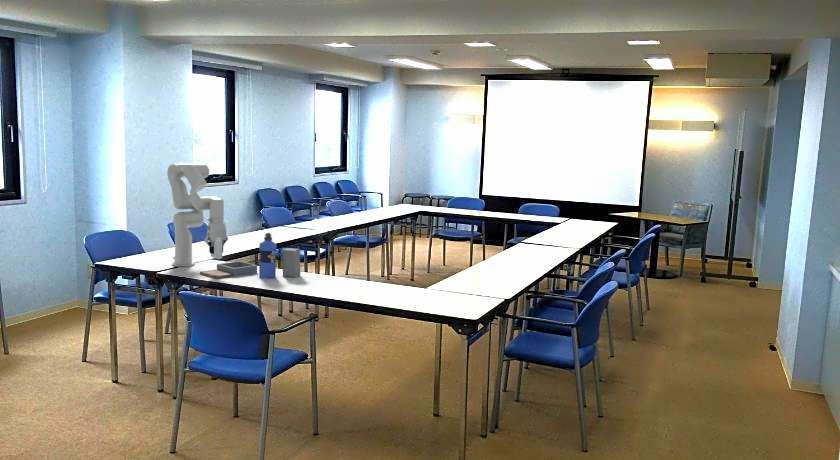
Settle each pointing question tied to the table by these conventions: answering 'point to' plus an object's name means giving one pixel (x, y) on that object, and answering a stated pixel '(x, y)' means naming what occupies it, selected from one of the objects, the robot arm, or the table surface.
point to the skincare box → (291, 262)
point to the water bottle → (267, 258)
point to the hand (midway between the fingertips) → (216, 252)
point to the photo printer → (217, 248)
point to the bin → (237, 268)
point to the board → (216, 274)
